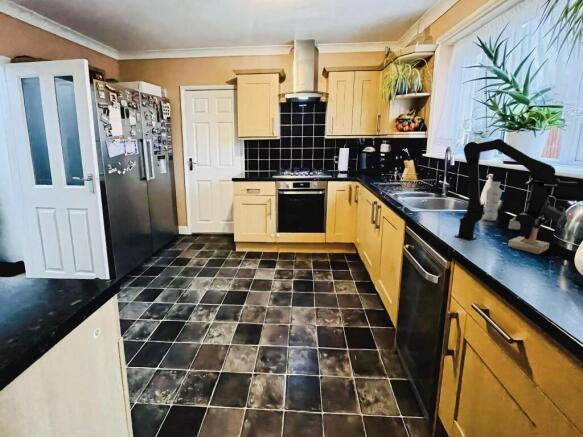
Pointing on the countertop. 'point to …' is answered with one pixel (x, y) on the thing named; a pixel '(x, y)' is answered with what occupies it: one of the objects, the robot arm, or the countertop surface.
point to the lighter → (514, 224)
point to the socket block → (528, 245)
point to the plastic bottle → (492, 201)
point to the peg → (532, 237)
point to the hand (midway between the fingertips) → (529, 237)
